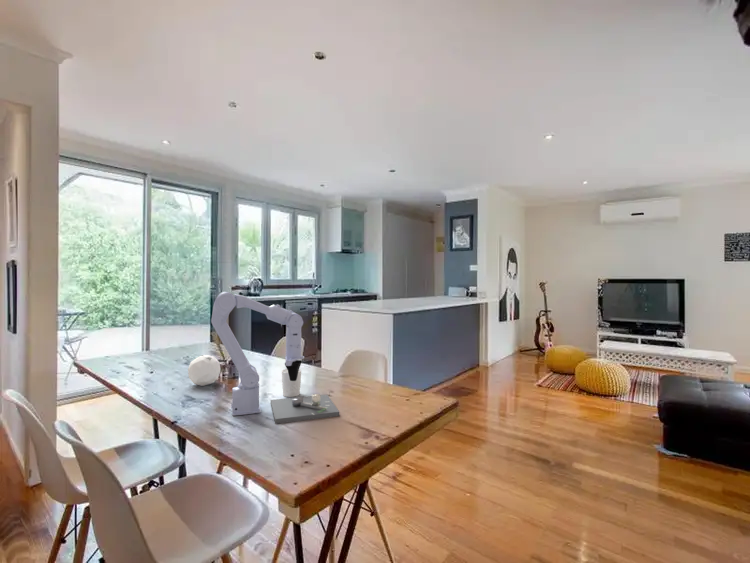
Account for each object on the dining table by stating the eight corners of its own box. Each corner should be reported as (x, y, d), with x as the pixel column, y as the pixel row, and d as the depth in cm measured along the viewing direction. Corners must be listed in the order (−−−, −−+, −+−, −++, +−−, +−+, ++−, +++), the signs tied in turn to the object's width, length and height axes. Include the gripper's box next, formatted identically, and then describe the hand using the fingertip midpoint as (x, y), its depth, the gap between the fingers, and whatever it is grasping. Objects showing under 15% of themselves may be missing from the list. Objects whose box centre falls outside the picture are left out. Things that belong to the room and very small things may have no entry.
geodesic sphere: (233, 370, 169) (219, 345, 172) (210, 378, 157) (195, 350, 160) (214, 386, 174) (200, 361, 177) (190, 395, 161) (175, 368, 164)
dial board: (275, 423, 124) (275, 418, 124) (270, 403, 143) (270, 399, 143) (339, 416, 131) (339, 411, 131) (327, 398, 150) (327, 394, 150)
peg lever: (289, 405, 136) (289, 392, 136) (296, 401, 140) (296, 389, 140) (323, 411, 130) (323, 398, 130) (329, 407, 134) (329, 395, 134)
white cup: (296, 398, 150) (296, 373, 150) (278, 396, 151) (278, 372, 151) (304, 392, 157) (304, 368, 157) (286, 391, 159) (286, 367, 159)
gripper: (299, 348, 134) (298, 386, 134) (308, 341, 148) (308, 375, 149) (279, 348, 134) (279, 385, 135) (290, 341, 149) (290, 375, 149)
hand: (293, 380), depth 142 cm, fingers closed
